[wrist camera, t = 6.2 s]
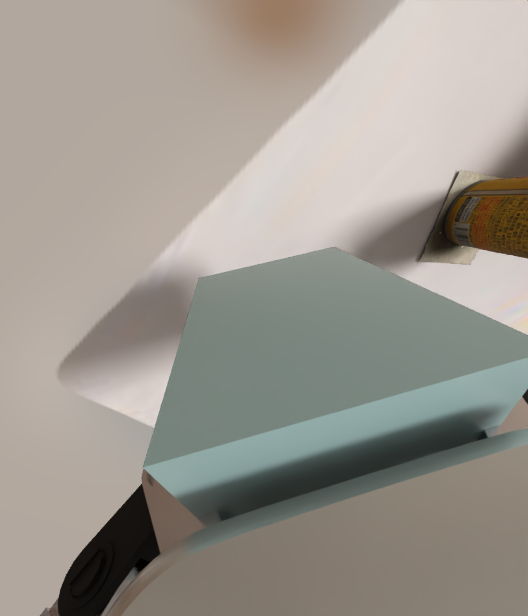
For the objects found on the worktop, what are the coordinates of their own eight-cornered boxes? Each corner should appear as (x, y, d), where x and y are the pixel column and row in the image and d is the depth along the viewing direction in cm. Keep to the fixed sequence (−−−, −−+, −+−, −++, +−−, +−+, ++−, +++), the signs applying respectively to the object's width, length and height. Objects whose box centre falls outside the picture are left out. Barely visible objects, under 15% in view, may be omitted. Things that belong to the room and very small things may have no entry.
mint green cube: (334, 246, 11) (558, 348, 4) (334, 348, 15) (444, 499, 8) (199, 278, 11) (142, 467, 3) (234, 375, 15) (246, 564, 7)
